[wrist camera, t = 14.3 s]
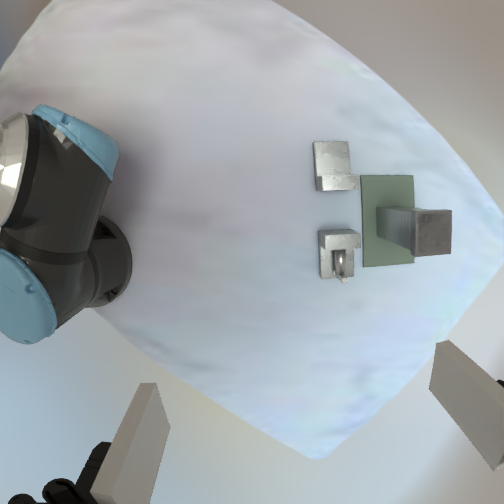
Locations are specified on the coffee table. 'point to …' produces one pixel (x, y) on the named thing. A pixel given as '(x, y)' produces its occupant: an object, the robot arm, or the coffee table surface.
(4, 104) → the coffee table surface
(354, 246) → the silver metal blocks
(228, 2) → the coffee table surface
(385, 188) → the mat
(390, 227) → the bar
